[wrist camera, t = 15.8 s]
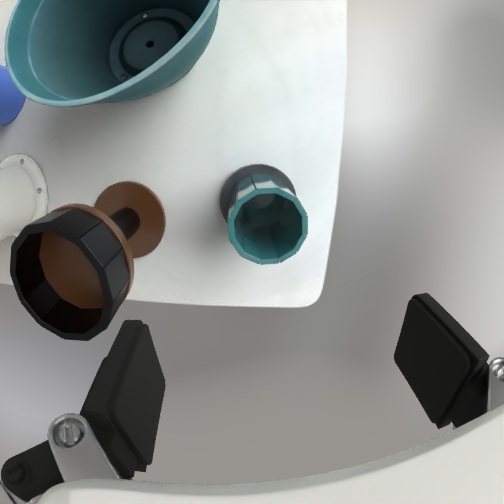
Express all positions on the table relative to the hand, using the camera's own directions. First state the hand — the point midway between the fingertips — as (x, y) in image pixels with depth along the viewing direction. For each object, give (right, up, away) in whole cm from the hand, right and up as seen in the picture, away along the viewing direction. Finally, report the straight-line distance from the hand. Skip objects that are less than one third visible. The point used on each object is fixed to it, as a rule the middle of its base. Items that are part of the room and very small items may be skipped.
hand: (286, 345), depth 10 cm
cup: (0, +9, +25) cm, 26 cm away
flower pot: (-13, +27, +17) cm, 35 cm away
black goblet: (-17, +7, +25) cm, 31 cm away
